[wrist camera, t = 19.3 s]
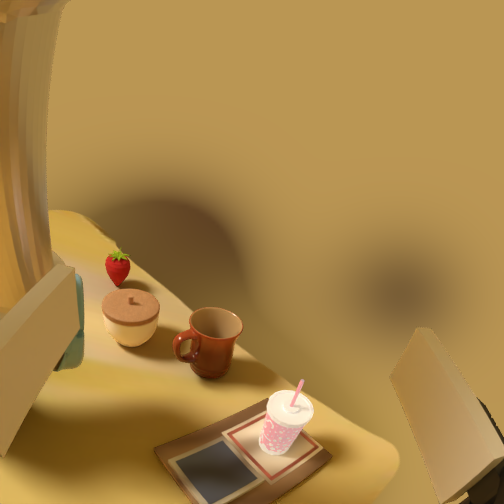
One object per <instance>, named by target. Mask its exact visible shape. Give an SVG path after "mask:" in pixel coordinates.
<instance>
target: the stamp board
mask: <svg viewBox="0 0 504 504" xmlns="http://www.w3.org/2000/svg"><path fill="white" fill-rule="evenodd" d="M268 401H269V399H268V398H266V399H264V400H263V401H261V402H259V403H257V404H255V405H253V406H250V407H248V408H246V409H244V410H242V411H240V412H238V413H236V414H234V415H232V416H230V417H227V418H225V419H223V420H221V421H219V422H216V423H214V424H212V425H210V426H207V427H205V428H203V429H200V430H198V431H196V432H193V433H191V434H188V435H186V436H183V437H181V438H178V439H176V440H173V441H171V442H168V443H166V444H163V445H160V446H158V447H155V448H154V451H155V453H156V454H157V456H158V457H159V459H160V460H161V462H162V463H163V465H164V466H165V468H166V469H167V470H168V472H169V473H170V475H171V476H172V477H173V479H174V480H175V482H176V483H177V484H178V486H179V487H180V488H181V490H182V491H183V492H184V493H185V495H186V496H187V497H188V499H189V500H190V501H191V502H192V504H270V503H272V502H273V501H275V500H276V499H278V498H279V497H281V496H282V495H283V494H285V493H286V492H288V491H289V490H291V489H292V488H293V487H295V486H296V485H298V484H299V483H300V482H302V481H303V480H304V479H306V478H307V477H308V476H310V475H311V474H312V473H313V472H315V471H316V470H317V469H319V468H320V467H321V466H322V465H324V464H325V463H326V462H327V461H329V460H330V459H331V458H332V455H331V454H330V453H329V452H328V451H326V450H325V449H324V447H322V446H321V445H320V444H319V443H318V442H317V441H315V440H314V439H313V438H312V437H311V436H310V435H308V434H307V433H306V432H305V431H304V430H303V429H302V430H301V431H300V433H299V434H298V436H297V437H296V439H295V440H294V442H293V443H292V445H291V446H290V447H289V449H288V450H287V451H286V452H285V453H284V454H281V455H271V454H268V453H266V452H265V451H263V450H262V449H261V447H260V445H259V437H260V434H261V430H262V427H263V424H264V420H265V417H266V413H267V403H268Z"/></svg>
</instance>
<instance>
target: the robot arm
mask: <svg viewBox="0 0 504 504" xmlns="http://www.w3.org/2000/svg"><path fill="white" fill-rule="evenodd" d="M69 1H70V0H0V457H2V458H4V456H5V454H6V452H7V450H8V449H9V447H10V445H11V443H12V441H13V439H14V437H15V435H16V433H17V431H18V429H19V428H20V426H21V424H22V422H23V420H24V418H25V417H26V415H27V413H28V411H29V410H30V408H31V406H32V404H33V403H34V401H35V399H36V397H37V396H38V394H39V392H40V391H41V389H42V387H43V386H44V384H45V382H46V381H47V379H48V377H49V376H50V374H51V372H52V371H57V372H58V371H60V370H62V369H73V368H76V367H78V366H79V365H80V364H81V363H82V361H83V357H84V332H83V330H84V294H83V282H82V278H81V277H80V276H79V275H78V274H75V268H73V267H69V266H66V265H65V263H64V262H63V260H62V259H61V258H60V257H59V256H58V255H57V254H56V253H55V252H54V251H52V248H51V239H50V229H49V217H48V203H47V184H46V183H47V182H46V136H47V115H48V100H49V89H50V80H51V71H52V64H53V57H54V51H55V45H56V39H57V33H58V28H59V23H60V18H61V14H62V10H63V9H64V7H65V5H66V4H67V3H68V2H69ZM389 377H390V380H391V382H392V384H393V387H394V389H395V391H396V394H397V396H398V398H399V401H400V403H401V405H402V408H403V410H404V412H405V415H406V417H407V420H408V422H409V425H410V427H411V429H412V432H413V434H414V437H415V439H416V442H417V445H418V447H419V450H420V452H421V455H422V457H423V460H424V462H425V465H426V468H427V471H428V473H429V476H430V479H431V482H432V484H433V487H434V490H435V493H436V496H437V499H438V502H439V504H445V503H448V502H451V501H454V500H456V499H458V498H459V497H460V496H462V495H463V494H464V493H465V492H467V493H468V495H469V497H467V498H466V499H465V500H464V501H462V502H461V503H459V504H504V437H503V435H502V434H501V432H500V430H499V428H498V426H496V423H495V421H494V419H493V418H491V414H490V413H489V411H488V409H487V408H486V406H485V405H484V404H483V403H482V402H481V401H480V400H479V399H478V398H477V397H476V396H475V394H474V393H473V391H472V389H471V388H470V386H469V385H468V383H467V381H466V380H465V378H464V377H463V375H462V374H461V372H460V371H459V369H458V367H457V366H456V364H455V363H454V362H453V360H452V358H451V357H450V355H449V354H448V352H447V351H446V349H445V348H444V346H443V345H442V343H441V342H440V341H439V339H438V338H437V336H436V335H435V333H434V332H433V331H432V329H431V328H421V327H417V328H416V330H415V332H414V334H413V336H412V338H411V340H410V341H409V343H408V345H407V347H406V349H405V351H404V352H403V354H402V356H401V358H400V359H399V361H398V363H397V365H396V366H395V368H394V370H393V371H392V373H391V375H390V376H389Z"/></svg>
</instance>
